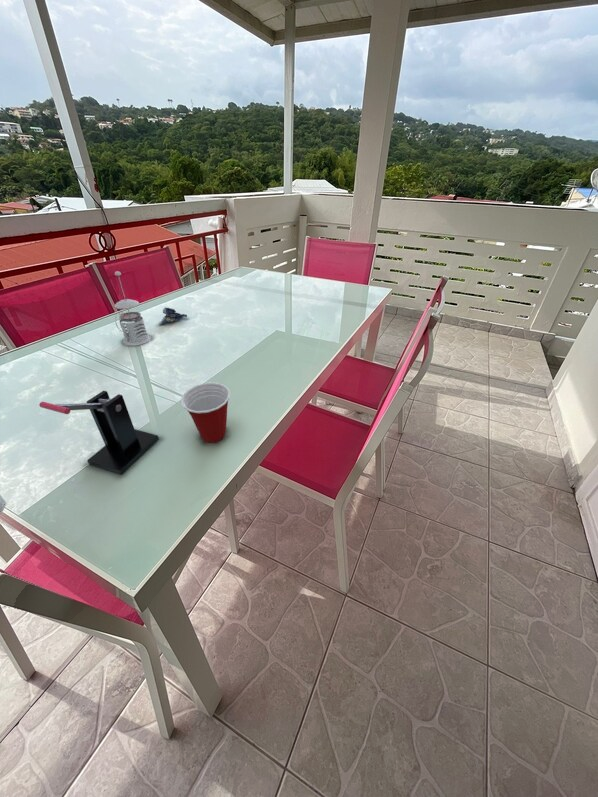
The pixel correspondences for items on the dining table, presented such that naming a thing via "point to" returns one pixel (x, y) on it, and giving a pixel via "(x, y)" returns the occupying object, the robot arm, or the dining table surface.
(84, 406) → the lever
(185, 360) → the dining table surface
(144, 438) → the bracket
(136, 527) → the dining table surface
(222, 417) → the plastic cup
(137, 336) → the french press
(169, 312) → the snack package
